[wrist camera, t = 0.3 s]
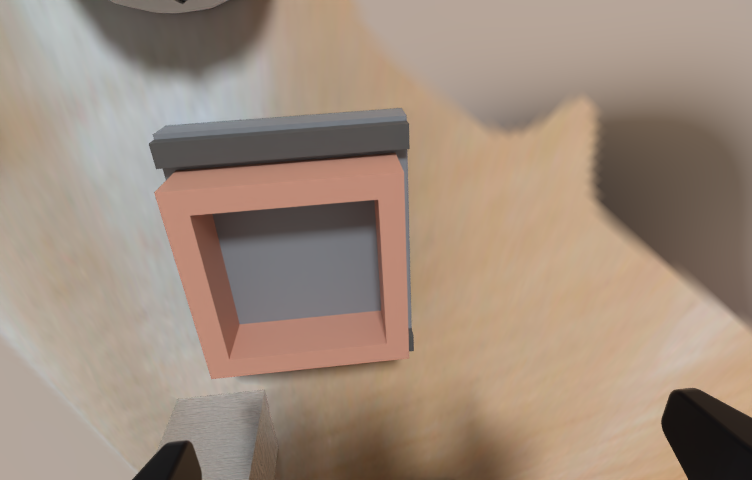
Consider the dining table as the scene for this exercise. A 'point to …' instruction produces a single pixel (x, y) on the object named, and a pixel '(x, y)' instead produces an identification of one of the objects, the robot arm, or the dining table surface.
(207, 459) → the block
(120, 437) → the dining table surface
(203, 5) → the mechanical component
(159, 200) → the frame
